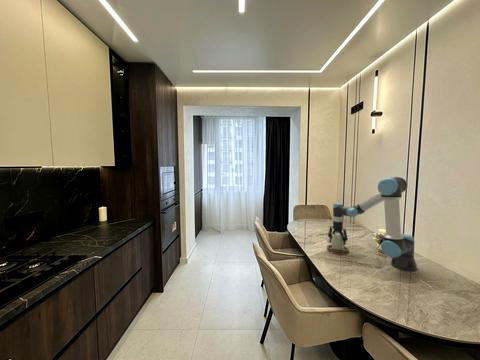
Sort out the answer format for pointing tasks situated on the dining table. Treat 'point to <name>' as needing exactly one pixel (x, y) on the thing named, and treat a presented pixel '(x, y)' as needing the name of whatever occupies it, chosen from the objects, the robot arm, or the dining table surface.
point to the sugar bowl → (332, 232)
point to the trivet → (343, 251)
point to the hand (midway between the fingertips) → (337, 246)
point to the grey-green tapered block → (337, 241)
